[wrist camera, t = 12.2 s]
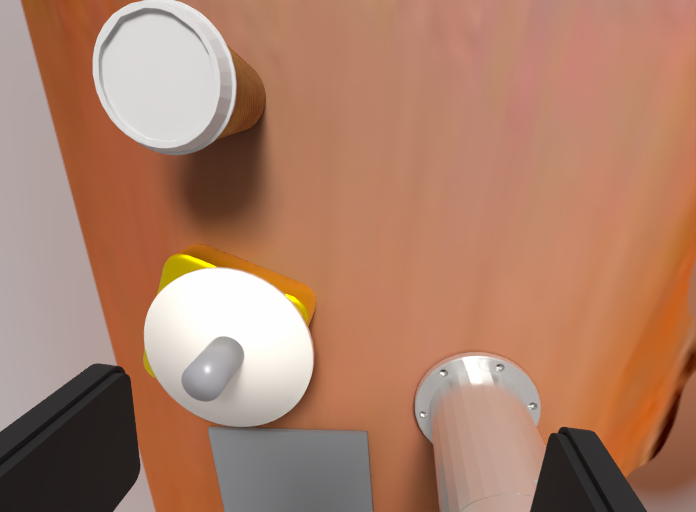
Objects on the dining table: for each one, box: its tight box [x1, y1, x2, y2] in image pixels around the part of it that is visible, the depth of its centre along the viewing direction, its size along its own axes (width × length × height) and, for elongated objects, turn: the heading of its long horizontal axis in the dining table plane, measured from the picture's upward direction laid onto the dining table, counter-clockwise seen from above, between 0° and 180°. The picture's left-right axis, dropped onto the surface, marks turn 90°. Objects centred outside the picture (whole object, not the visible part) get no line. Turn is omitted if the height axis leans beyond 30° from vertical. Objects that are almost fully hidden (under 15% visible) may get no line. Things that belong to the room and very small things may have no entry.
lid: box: [144, 267, 314, 427], centre depth 36 cm, size 17×17×6 cm
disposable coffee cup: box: [93, 0, 265, 155], centre depth 31 cm, size 10×10×12 cm
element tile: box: [143, 244, 316, 379], centre depth 42 cm, size 15×15×5 cm
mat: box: [208, 426, 373, 512], centre depth 49 cm, size 19×19×1 cm
